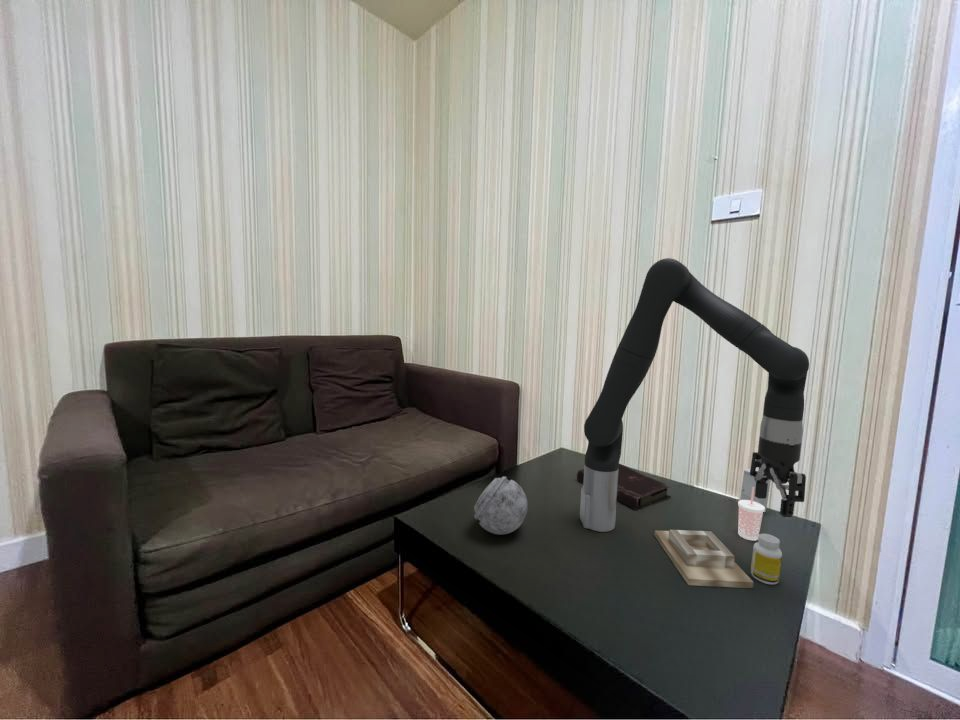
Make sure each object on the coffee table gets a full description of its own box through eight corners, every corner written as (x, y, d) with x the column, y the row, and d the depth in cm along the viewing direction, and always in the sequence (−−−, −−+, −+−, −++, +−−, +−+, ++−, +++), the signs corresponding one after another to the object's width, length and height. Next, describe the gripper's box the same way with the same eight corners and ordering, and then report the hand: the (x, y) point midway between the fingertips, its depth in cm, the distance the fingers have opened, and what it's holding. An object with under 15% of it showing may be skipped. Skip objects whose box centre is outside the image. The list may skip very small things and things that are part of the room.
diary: (635, 513, 124) (636, 498, 123) (576, 483, 145) (576, 469, 144) (672, 498, 133) (673, 484, 133) (611, 472, 154) (612, 459, 154)
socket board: (688, 585, 90) (690, 566, 90) (654, 535, 110) (655, 519, 110) (752, 588, 90) (754, 569, 89) (706, 537, 109) (708, 522, 109)
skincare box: (738, 505, 128) (742, 469, 127) (747, 503, 130) (751, 467, 128) (758, 515, 123) (762, 476, 121) (767, 512, 124) (772, 474, 123)
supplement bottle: (783, 587, 90) (788, 546, 89) (756, 583, 91) (761, 543, 90) (771, 572, 95) (776, 533, 94) (746, 568, 97) (750, 530, 95)
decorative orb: (484, 513, 120) (485, 464, 119) (532, 523, 115) (534, 472, 113) (465, 538, 107) (466, 484, 105) (518, 551, 102) (520, 494, 100)
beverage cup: (741, 541, 108) (746, 491, 107) (730, 528, 114) (735, 481, 113) (766, 543, 107) (772, 493, 106) (754, 530, 114) (759, 483, 112)
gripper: (743, 427, 97) (737, 492, 98) (785, 447, 82) (777, 522, 84) (775, 428, 96) (768, 493, 98) (823, 448, 82) (814, 523, 84)
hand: (772, 506), depth 91 cm, fingers open, 8 cm apart
